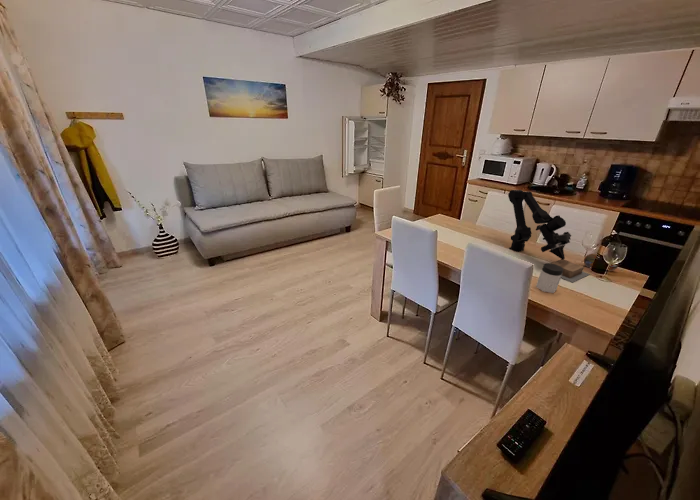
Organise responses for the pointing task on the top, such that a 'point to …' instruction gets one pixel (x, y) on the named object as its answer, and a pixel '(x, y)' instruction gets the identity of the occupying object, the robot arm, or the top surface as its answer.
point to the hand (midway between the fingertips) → (563, 259)
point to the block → (569, 268)
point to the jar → (549, 277)
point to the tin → (590, 259)
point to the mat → (575, 277)
